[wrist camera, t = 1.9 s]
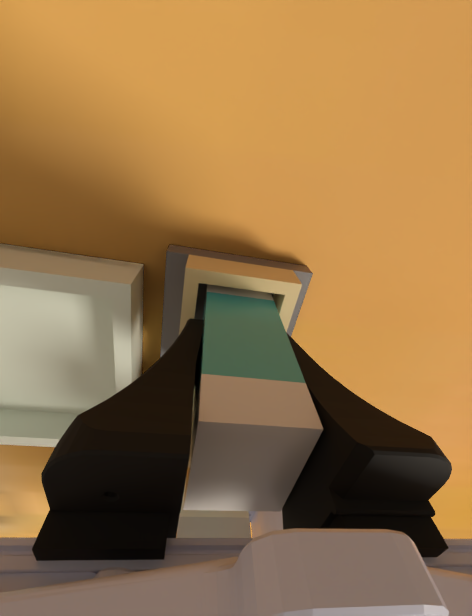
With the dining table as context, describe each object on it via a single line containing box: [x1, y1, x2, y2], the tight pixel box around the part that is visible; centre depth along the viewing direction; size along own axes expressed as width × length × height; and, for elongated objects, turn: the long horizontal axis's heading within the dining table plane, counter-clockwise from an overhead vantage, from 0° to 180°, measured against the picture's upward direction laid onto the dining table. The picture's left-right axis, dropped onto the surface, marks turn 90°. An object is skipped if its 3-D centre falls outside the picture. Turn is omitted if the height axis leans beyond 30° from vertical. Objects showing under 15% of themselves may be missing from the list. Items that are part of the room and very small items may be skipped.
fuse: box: [176, 481, 251, 538], centre depth 15 cm, size 4×3×8 cm
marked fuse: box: [183, 284, 323, 512], centre depth 11 cm, size 4×3×8 cm
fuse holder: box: [160, 245, 313, 397], centre depth 16 cm, size 14×7×3 cm, turn 170°
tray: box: [0, 243, 144, 447], centre depth 14 cm, size 12×11×2 cm
